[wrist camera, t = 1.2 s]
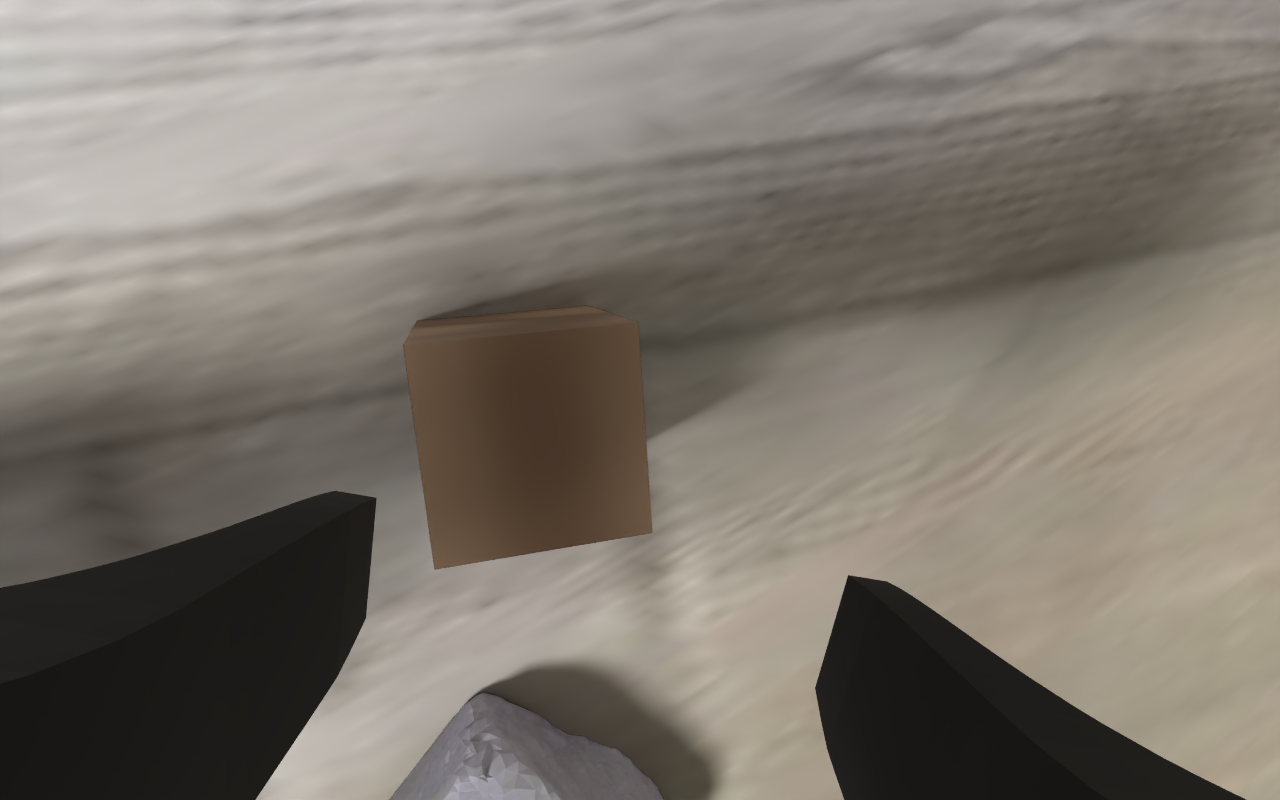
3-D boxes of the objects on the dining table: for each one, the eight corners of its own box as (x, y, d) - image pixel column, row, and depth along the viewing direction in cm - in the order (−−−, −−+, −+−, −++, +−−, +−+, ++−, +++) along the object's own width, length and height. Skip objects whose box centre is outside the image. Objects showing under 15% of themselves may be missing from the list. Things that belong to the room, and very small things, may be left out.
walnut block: (439, 486, 21) (434, 569, 16) (416, 320, 20) (403, 345, 14) (601, 463, 22) (652, 532, 17) (588, 305, 21) (638, 322, 16)
